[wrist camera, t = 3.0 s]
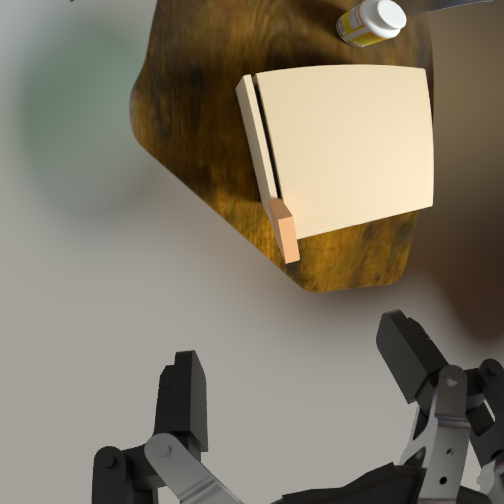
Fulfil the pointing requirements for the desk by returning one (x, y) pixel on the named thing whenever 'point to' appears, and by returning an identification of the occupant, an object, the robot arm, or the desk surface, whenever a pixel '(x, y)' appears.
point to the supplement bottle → (371, 22)
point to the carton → (347, 142)
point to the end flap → (266, 172)
